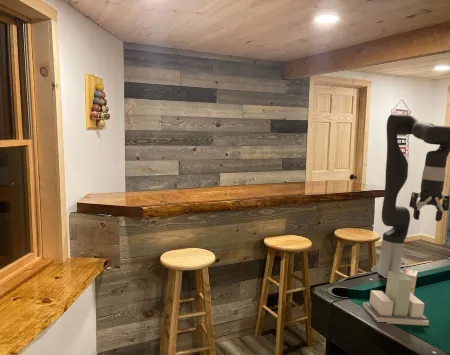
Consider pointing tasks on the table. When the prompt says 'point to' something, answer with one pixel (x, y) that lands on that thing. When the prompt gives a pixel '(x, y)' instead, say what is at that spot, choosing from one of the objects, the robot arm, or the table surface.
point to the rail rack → (383, 308)
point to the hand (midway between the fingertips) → (426, 220)
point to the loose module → (399, 291)
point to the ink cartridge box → (411, 276)
